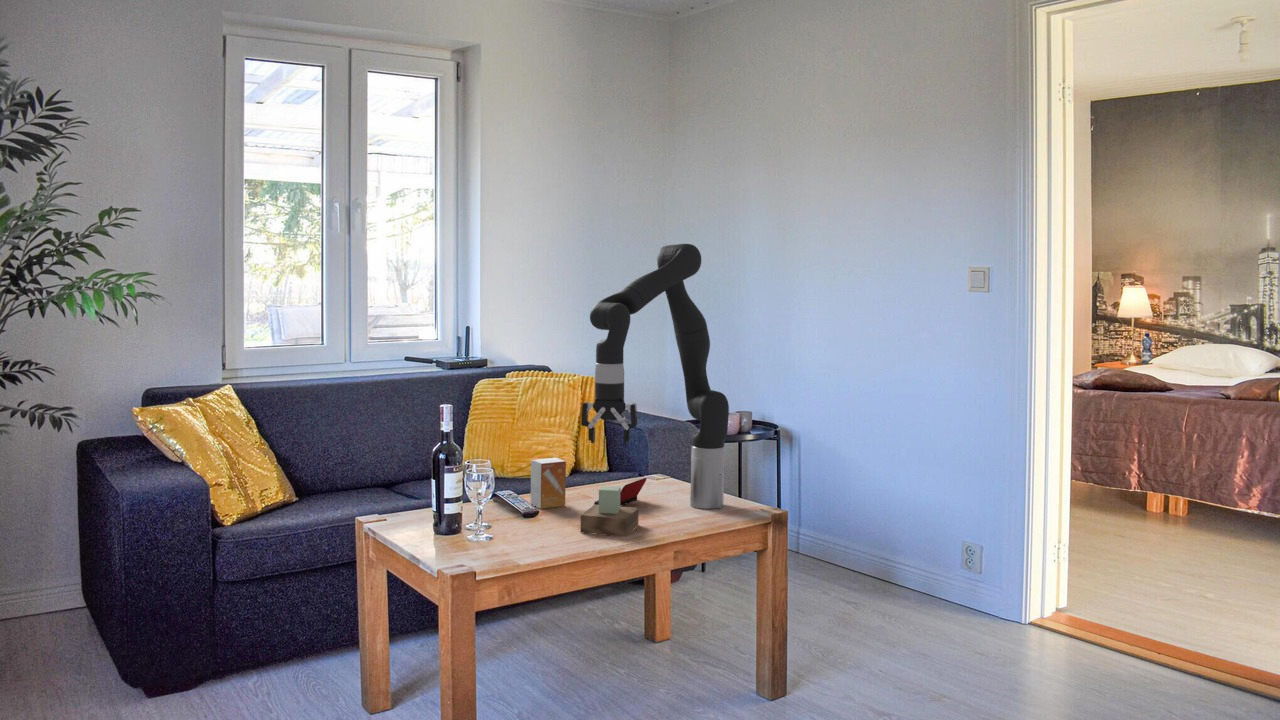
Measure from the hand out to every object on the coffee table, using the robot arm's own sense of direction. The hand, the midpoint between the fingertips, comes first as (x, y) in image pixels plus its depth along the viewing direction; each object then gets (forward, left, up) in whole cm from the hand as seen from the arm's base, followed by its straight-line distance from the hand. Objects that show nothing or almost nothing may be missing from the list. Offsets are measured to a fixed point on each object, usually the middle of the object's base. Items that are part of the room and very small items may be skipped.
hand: (609, 443), depth 257 cm
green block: (0, 0, -18) cm, 18 cm away
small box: (+21, -20, -23) cm, 37 cm away
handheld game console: (+2, -27, -23) cm, 36 cm away
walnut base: (-1, +1, -23) cm, 23 cm away
